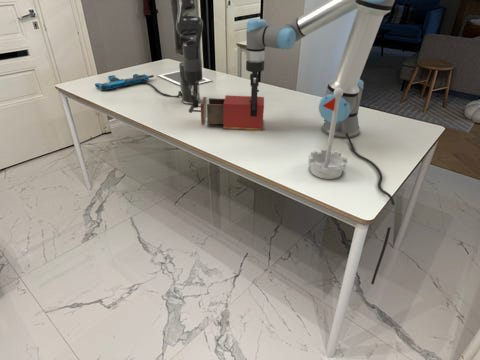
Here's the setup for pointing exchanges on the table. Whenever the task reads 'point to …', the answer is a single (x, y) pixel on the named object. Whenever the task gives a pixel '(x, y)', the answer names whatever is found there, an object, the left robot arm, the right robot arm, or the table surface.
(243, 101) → the cabinet
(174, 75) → the tablet
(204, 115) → the drawer
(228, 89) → the table surface
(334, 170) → the flag stand
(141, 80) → the submachine gun
